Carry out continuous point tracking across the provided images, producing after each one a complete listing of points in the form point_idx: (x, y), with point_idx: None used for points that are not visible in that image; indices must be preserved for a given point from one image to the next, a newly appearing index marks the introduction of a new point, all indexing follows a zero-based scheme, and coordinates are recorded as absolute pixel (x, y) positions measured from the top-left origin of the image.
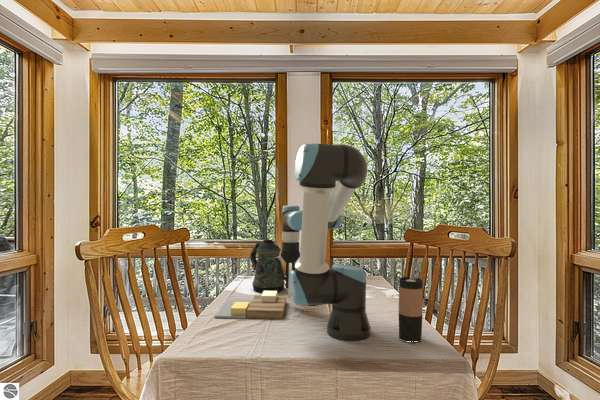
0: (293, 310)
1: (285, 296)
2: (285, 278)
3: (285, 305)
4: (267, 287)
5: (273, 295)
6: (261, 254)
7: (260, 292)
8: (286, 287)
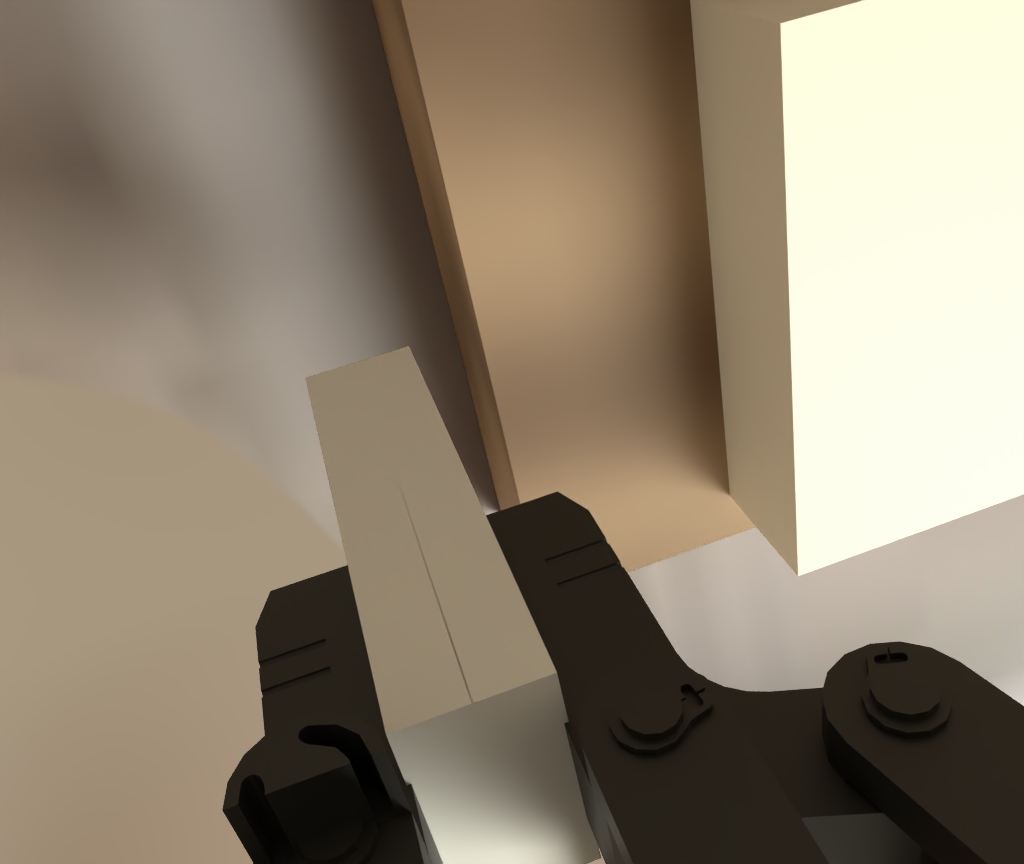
0: (120, 14)
1: None
2: (773, 777)
3: (447, 291)
4: None
5: (845, 83)
6: None
7: None
8: (560, 517)
